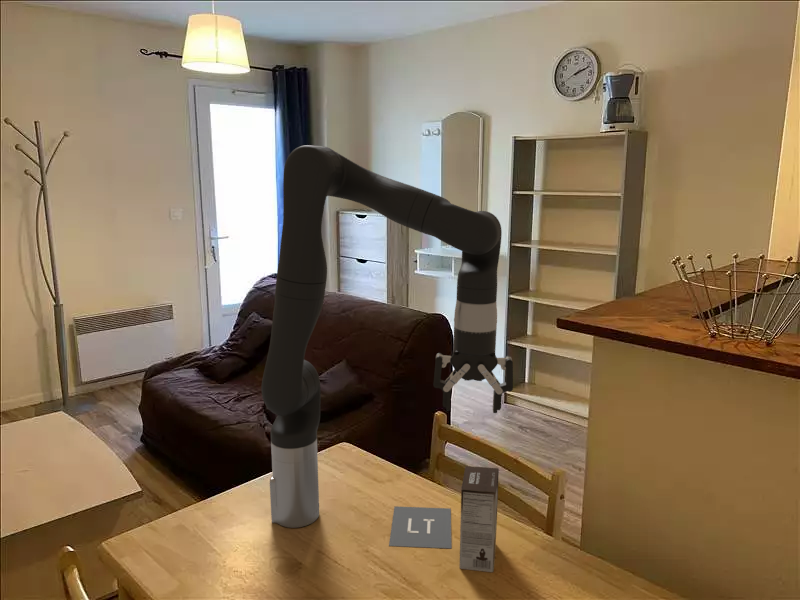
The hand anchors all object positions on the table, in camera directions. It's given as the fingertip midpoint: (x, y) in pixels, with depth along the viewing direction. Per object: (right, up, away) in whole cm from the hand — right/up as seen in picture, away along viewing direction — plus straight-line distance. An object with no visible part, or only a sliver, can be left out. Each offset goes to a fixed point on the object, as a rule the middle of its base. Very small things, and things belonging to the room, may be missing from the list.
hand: (471, 410), depth 113 cm
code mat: (-9, -26, +12) cm, 29 cm away
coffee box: (+2, -28, +2) cm, 28 cm away
